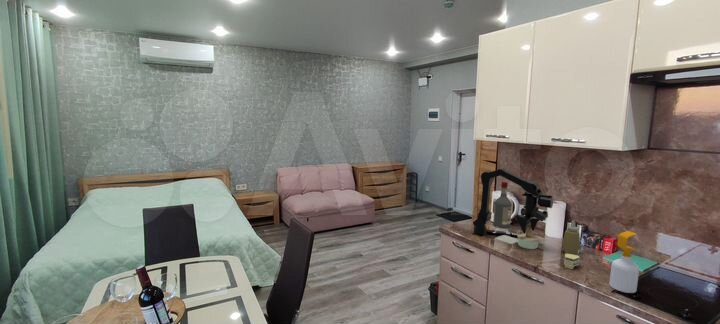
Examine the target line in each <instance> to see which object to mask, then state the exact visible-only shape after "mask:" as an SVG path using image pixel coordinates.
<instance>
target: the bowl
mask: <svg viewBox="0 0 720 324" xmlns="http://www.w3.org/2000/svg"><path fill="white" fill-rule="evenodd" d="M517 239H518V242H517V245H518V246H519V247H521V248H523V249H528V250H536V249H537V248H539V241H536V242H531V241H525V240H522V239H519V238H518V237H517Z"/></svg>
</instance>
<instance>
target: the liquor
mask: <svg viewBox="0 0 720 324" xmlns="http://www.w3.org/2000/svg"><path fill="white" fill-rule="evenodd" d="M507 193H508V182H507V181H501V188H500V196H499V197H498V198H497V199H496V200H495V201H494V203H493V205H494V208H493V220H492V221H493V224H492V225H493V226H494V227H496V228H501V229H509V228H510V227H511V222H512V220H511V219H512V205H513V203H512V201H511V200H510V199H509V198H508V194H507Z"/></svg>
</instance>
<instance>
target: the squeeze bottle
mask: <svg viewBox="0 0 720 324" xmlns="http://www.w3.org/2000/svg"><path fill="white" fill-rule="evenodd" d="M580 240H581V237H580V232H579V228H578V227H577V226H576V221H575V220H573V219H572V220H571V223H570V225H568V226H567V229H566V230H565V231H564V235H563V239H562V244H561V245H562V246H561V247H562V249H563V252H564V254H573V255H578V252H579V251H580V249H581V241H580Z"/></svg>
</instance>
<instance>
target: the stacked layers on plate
mask: <svg viewBox="0 0 720 324" xmlns="http://www.w3.org/2000/svg"><path fill="white" fill-rule="evenodd" d="M579 258H580V256H579V255H578V254H576V255H573V254H567V253H564V261H563V265H564V268H565V269H570V270H573V269H574V268H575V266H579V265H580V263H579V261H580V259H579Z"/></svg>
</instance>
